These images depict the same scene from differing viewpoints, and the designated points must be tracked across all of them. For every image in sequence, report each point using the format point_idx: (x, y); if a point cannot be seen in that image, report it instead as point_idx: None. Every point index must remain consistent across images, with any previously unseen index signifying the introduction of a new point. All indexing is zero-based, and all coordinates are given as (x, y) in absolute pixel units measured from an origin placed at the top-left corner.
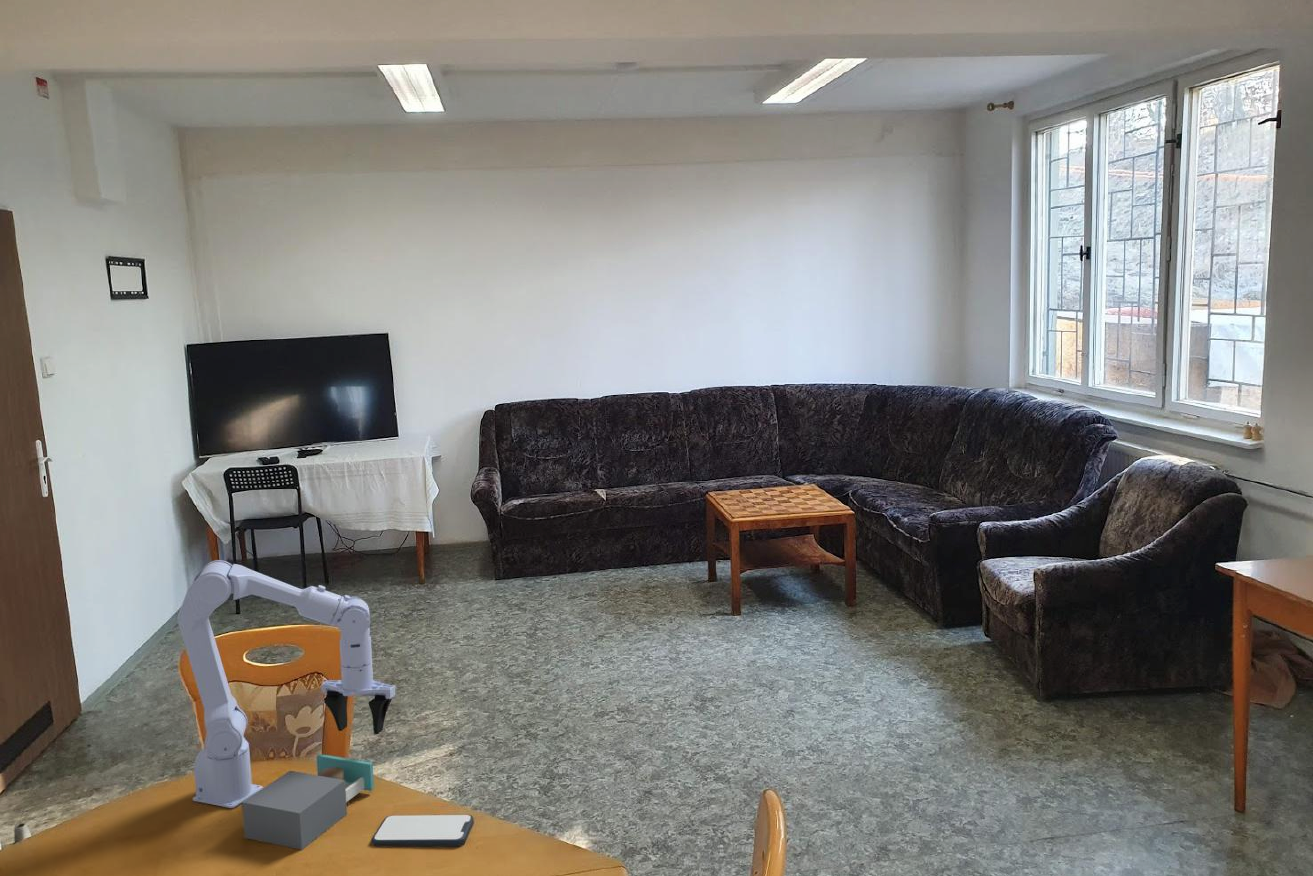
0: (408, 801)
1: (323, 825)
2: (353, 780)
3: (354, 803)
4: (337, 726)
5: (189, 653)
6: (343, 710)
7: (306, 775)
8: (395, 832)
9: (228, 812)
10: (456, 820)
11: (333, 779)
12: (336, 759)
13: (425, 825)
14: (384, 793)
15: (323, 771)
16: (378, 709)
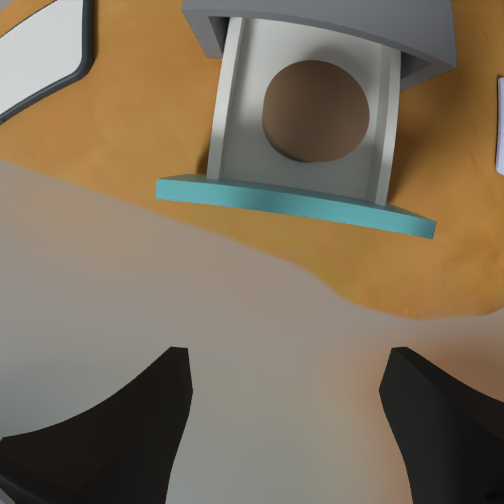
0: (80, 169)
1: None
2: (256, 183)
3: None
4: (419, 356)
5: None
6: (419, 447)
7: (375, 22)
8: (47, 24)
9: (495, 67)
10: None
11: (236, 3)
12: (344, 203)
13: (6, 73)
14: None
15: (355, 119)
16: (38, 436)
